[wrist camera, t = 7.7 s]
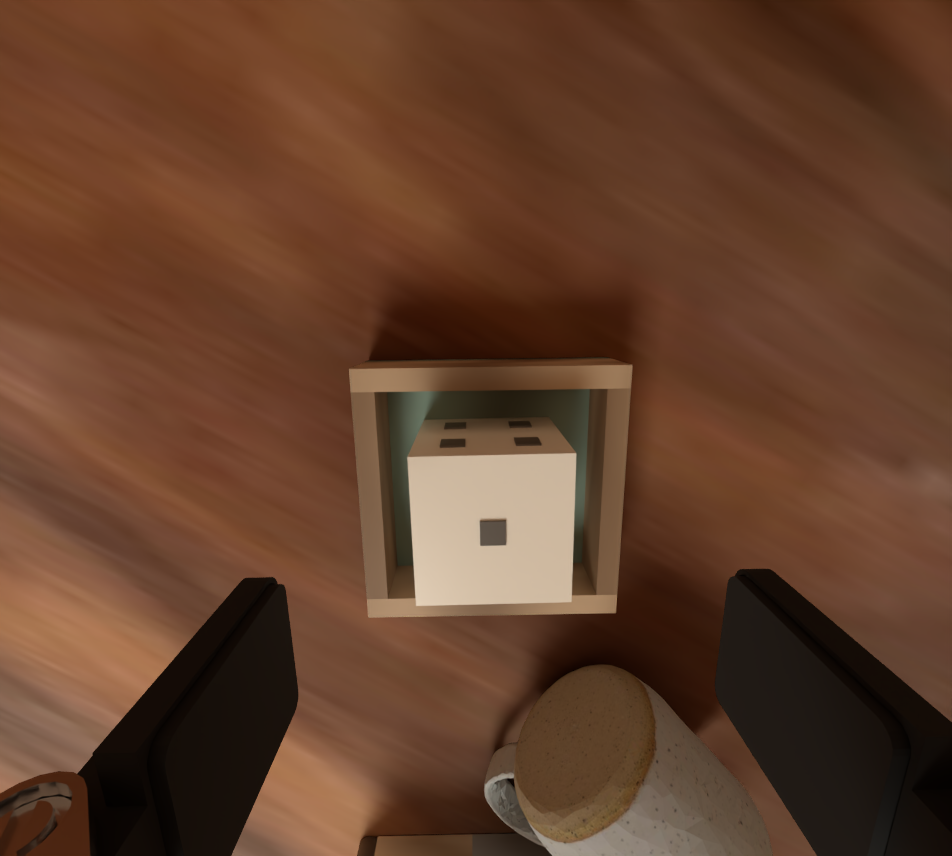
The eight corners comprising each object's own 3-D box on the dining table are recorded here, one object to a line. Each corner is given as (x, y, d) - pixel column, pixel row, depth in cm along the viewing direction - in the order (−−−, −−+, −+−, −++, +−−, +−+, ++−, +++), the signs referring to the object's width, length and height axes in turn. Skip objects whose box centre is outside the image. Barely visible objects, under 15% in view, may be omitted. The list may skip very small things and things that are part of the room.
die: (548, 415, 19) (577, 451, 14) (546, 531, 20) (571, 603, 15) (422, 418, 18) (404, 455, 14) (427, 534, 20) (413, 607, 15)
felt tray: (607, 357, 19) (632, 364, 16) (595, 571, 21) (615, 613, 18) (368, 360, 19) (348, 369, 16) (382, 575, 21) (368, 617, 18)
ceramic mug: (615, 621, 22) (688, 786, 14) (714, 728, 23) (827, 928, 16) (446, 740, 23) (431, 943, 16) (548, 832, 25) (579, 1057, 17)
